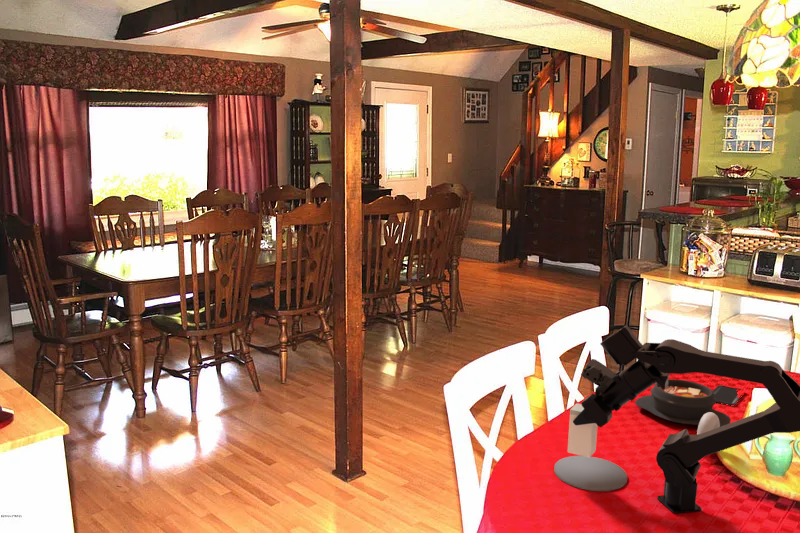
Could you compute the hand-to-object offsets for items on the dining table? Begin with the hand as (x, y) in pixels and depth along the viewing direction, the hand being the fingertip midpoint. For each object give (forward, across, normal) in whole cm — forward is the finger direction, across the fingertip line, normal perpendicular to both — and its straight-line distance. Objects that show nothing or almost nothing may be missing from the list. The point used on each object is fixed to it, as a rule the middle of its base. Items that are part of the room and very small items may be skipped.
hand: (577, 419), depth 158 cm
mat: (+8, -3, +12) cm, 14 cm away
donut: (-7, -31, +26) cm, 41 cm away
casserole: (0, -51, +20) cm, 55 cm away
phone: (-6, -76, +26) cm, 80 cm away
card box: (+4, 0, +6) cm, 7 cm away
